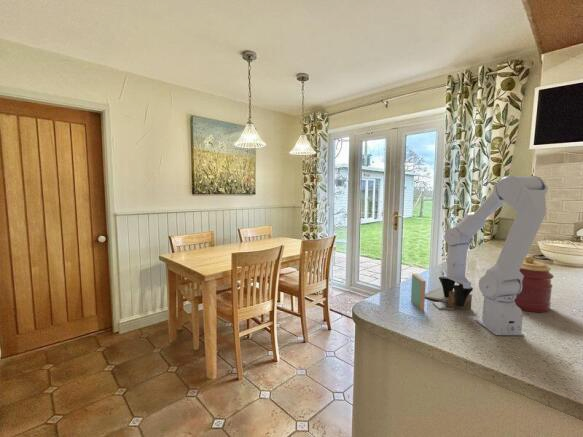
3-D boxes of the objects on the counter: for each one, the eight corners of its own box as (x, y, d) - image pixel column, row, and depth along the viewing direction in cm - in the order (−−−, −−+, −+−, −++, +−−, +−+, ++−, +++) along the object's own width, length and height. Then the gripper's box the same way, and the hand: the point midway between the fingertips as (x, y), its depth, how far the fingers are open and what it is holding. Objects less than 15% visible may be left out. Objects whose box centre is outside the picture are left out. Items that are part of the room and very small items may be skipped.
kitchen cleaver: (450, 282, 122) (476, 286, 114) (450, 284, 122) (476, 289, 114) (419, 294, 108) (447, 300, 100) (419, 297, 108) (447, 303, 100)
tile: (424, 310, 96) (425, 281, 95) (420, 310, 96) (421, 281, 95) (414, 300, 104) (415, 273, 103) (410, 300, 104) (412, 273, 103)
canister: (531, 315, 93) (536, 261, 91) (493, 300, 105) (497, 252, 103) (559, 310, 96) (565, 259, 94) (520, 296, 108) (524, 250, 107)
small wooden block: (472, 310, 96) (473, 295, 96) (438, 309, 97) (439, 295, 96) (464, 304, 101) (465, 290, 100) (432, 303, 102) (433, 289, 101)
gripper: (434, 257, 105) (432, 293, 107) (456, 269, 91) (453, 310, 93) (453, 258, 105) (451, 293, 107) (478, 269, 91) (475, 310, 92)
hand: (453, 301), depth 100 cm, fingers open, 7 cm apart
